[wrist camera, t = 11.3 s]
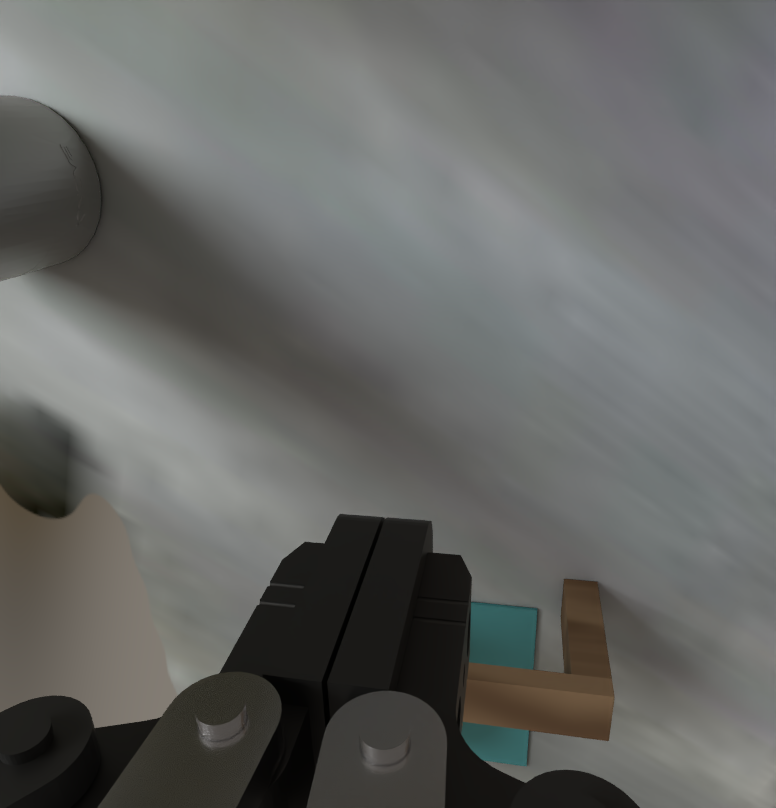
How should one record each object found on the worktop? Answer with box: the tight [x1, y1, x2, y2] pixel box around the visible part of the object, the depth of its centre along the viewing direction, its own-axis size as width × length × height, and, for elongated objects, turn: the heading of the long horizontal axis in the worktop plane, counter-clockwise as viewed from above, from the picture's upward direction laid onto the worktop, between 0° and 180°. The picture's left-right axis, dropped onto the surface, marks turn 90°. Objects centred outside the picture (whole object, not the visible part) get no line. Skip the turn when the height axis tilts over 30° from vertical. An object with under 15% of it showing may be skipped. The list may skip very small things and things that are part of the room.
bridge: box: [463, 579, 614, 741], centre depth 40 cm, size 3×17×9 cm, turn 92°
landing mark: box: [461, 602, 537, 766], centre depth 47 cm, size 10×14×1 cm
